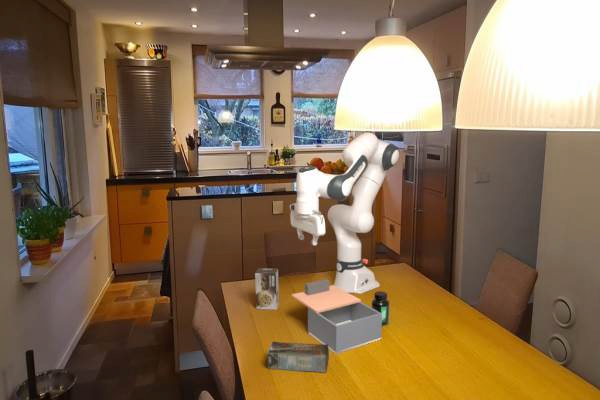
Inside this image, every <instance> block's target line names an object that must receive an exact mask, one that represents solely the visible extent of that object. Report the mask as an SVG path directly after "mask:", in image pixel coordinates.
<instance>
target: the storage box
mask: <svg viewBox="0 0 600 400" xmlns="http://www.w3.org/2000/svg"><path fill="white" fill-rule="evenodd" d="M382 327H383V326H382V313H380V312H378V311H376V310H374V309H373V308H372V306H371V307H370V306H369V305H367V304H366V303H363V302H362V301H361V302H358V303H355V304H351V305H347V306H343V307H339V308H335V309H332V310H328V311H324V312H320V313H316V312H314V311H313V310H311V309H310V308H308V307H307V334H308V335H310V336H311V337H312V338H314V339H315V340H317V341H318V342H319V344H325V345H327V344H328V349H329V351H331V352H332V353H333V354H335V355H338V354H342V353H344V352H347V351H350V350H354V349H357V348H359V347H360V348H361V347H362V346H366V344H367V345H369V344H368V343H370V344H372V343H371V342H373V343H375V342H374V341H376V342H378V341H377V340H379V341H381V340H382V329H383V328H382ZM380 339H381V340H380Z"/></svg>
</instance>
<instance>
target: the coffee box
mask: <svg viewBox="0 0 600 400" xmlns="http://www.w3.org/2000/svg"><path fill="white" fill-rule="evenodd" d="M254 278H255V279H254V281H255V310H271V311H274V310H278V308H279V305H280V303H279V302H280V301H279V300H280V298H279V297H280V295H279V268H277V267H274V268H273V267H272V268H271V267H270V268H269V267H258V268H257V269H256V271H255V272H254Z"/></svg>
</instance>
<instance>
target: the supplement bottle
mask: <svg viewBox="0 0 600 400" xmlns="http://www.w3.org/2000/svg"><path fill="white" fill-rule="evenodd" d="M373 297H374V298H372V300H371V308H373V309H374V310H376V311H378V312H380V313H382V327H384V326H383V325H385V326H387V325H389V322H390V301H389V300H388V292H386V291H382V290H381V291H379V290H378V291H375V292H374V296H373Z"/></svg>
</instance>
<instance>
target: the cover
mask: <svg viewBox="0 0 600 400" xmlns="http://www.w3.org/2000/svg"><path fill="white" fill-rule="evenodd" d="M291 298H293V299H295V300H296V301H298V302H299V303H301V304H302V305H303V306H305V307H307V309H308V308H310V309H311V310H313V311H314V312H316V313H320V312H324V311H328V310H332V309H335V308H339V307H343V306H347V305H351V304H355V303H358V302H362V299H360V298H359V297H357V296H354V295H353V294H352V293H347V292H345V291H344V290H342V289H340V288H338V287H336V286H334V284H332V285H330V280H328V279H322V280H317V281H312V282H307V283H304V291H301V292H296V293H293V294H292V293H291Z"/></svg>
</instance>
